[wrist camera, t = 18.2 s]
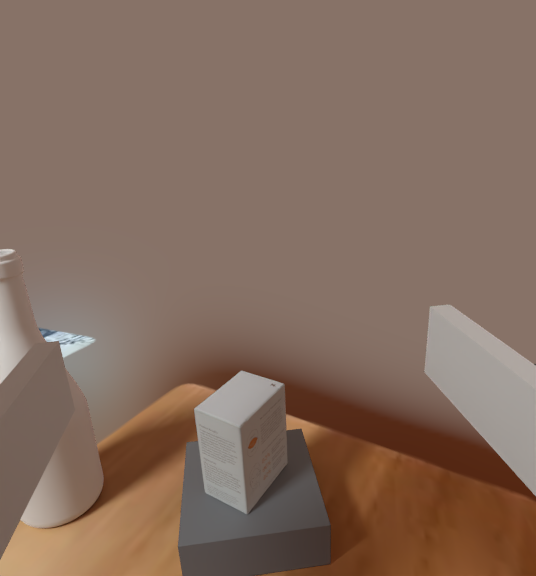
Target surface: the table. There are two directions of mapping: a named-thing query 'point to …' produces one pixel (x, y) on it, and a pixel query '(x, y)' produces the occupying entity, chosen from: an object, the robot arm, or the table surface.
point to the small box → (242, 439)
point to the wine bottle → (79, 432)
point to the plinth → (255, 522)
